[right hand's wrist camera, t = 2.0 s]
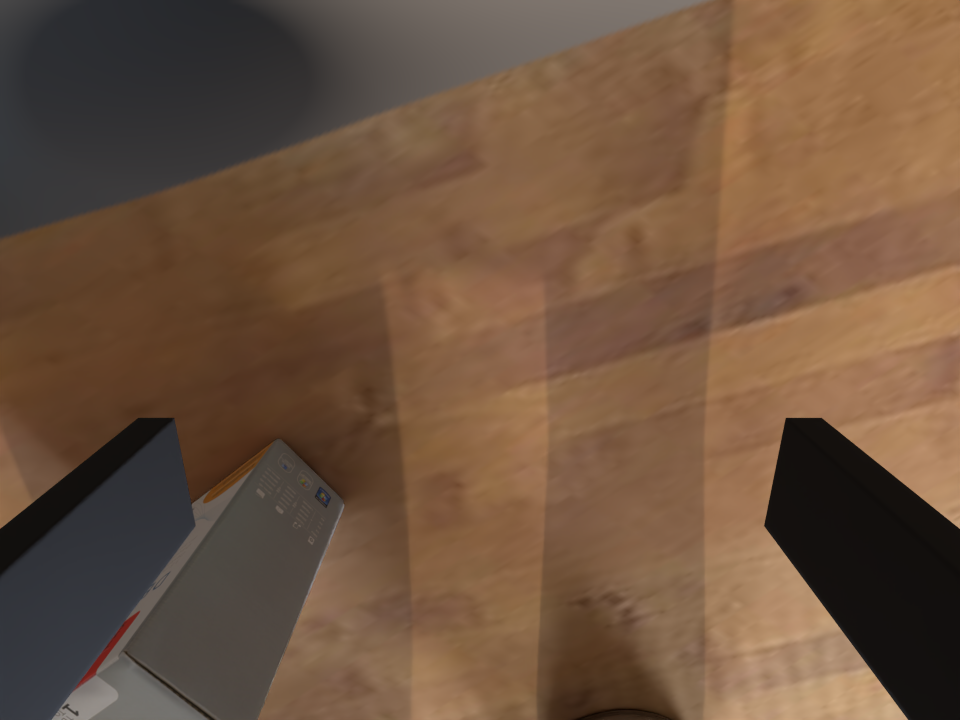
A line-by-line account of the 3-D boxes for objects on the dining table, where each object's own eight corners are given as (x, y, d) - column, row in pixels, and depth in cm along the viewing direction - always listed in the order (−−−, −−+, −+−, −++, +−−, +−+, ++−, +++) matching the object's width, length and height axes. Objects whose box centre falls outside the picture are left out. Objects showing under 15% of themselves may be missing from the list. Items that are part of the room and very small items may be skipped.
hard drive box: (279, 432, 44) (127, 649, 25) (349, 501, 46) (258, 750, 27) (140, 539, 47) (-85, 803, 28) (212, 599, 49) (46, 881, 30)
